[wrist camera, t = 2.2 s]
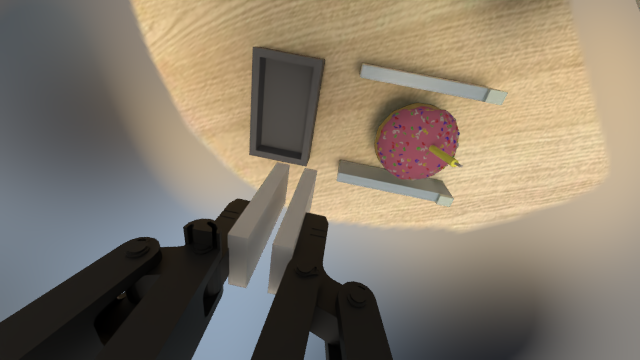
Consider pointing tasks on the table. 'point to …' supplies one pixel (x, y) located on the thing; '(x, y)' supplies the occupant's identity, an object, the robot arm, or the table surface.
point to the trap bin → (284, 104)
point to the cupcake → (417, 141)
